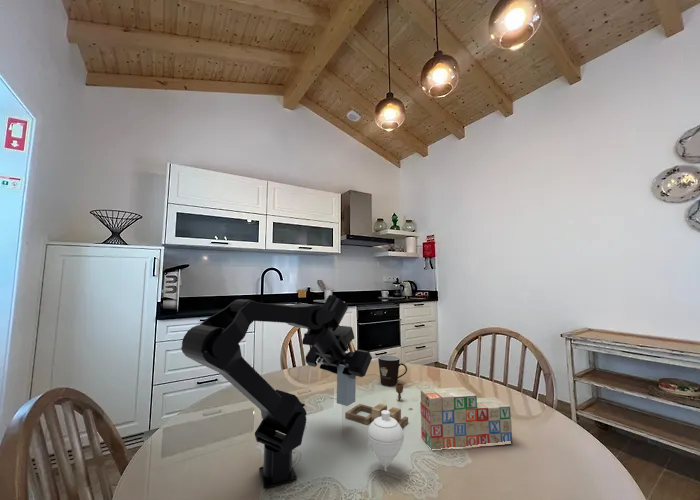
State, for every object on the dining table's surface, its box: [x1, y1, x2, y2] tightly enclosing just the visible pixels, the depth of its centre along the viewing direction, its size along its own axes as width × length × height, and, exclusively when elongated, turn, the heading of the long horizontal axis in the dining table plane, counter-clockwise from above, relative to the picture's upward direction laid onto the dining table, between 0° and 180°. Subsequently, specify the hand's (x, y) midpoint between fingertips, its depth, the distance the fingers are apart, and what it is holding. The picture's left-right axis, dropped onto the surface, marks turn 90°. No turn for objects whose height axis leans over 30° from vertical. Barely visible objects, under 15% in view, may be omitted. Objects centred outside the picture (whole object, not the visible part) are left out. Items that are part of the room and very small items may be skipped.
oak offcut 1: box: [370, 402, 388, 424], centre depth 86 cm, size 5×2×4 cm, turn 146°
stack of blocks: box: [420, 387, 513, 451], centre depth 76 cm, size 21×6×12 cm, turn 98°
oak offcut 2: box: [388, 406, 402, 422], centre depth 84 cm, size 5×2×4 cm, turn 146°
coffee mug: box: [377, 354, 408, 388], centre depth 117 cm, size 12×9×10 cm
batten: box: [336, 365, 357, 407], centre depth 83 cm, size 4×4×12 cm
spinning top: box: [367, 409, 405, 472], centre depth 64 cm, size 8×8×12 cm
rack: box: [344, 403, 409, 429], centre depth 86 cm, size 8×16×2 cm, turn 56°
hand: (349, 376), depth 84 cm, fingers closed on batten, 3 cm apart
